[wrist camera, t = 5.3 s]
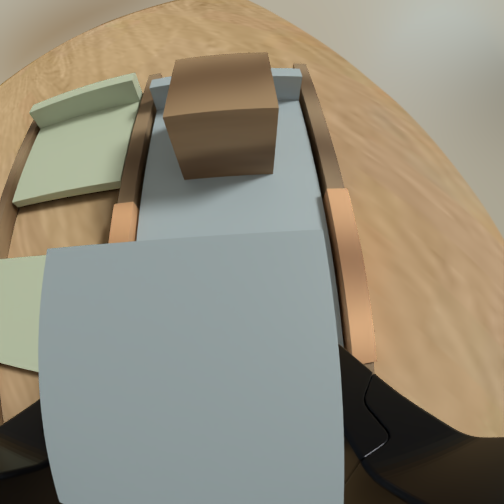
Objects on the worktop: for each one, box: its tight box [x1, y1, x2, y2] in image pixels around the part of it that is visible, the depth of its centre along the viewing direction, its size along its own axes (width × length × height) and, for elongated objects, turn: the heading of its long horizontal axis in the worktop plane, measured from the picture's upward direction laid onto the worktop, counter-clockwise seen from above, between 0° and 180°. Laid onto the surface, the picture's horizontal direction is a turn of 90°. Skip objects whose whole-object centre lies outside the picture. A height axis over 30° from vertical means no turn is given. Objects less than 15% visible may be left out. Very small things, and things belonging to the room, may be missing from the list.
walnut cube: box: [163, 53, 279, 180], centre depth 15 cm, size 5×5×5 cm
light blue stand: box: [38, 68, 344, 504], centre depth 10 cm, size 20×10×12 cm, turn 4°
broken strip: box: [0, 73, 143, 372], centre depth 15 cm, size 20×10×3 cm, turn 4°
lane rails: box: [0, 64, 377, 426], centre depth 14 cm, size 35×24×2 cm
